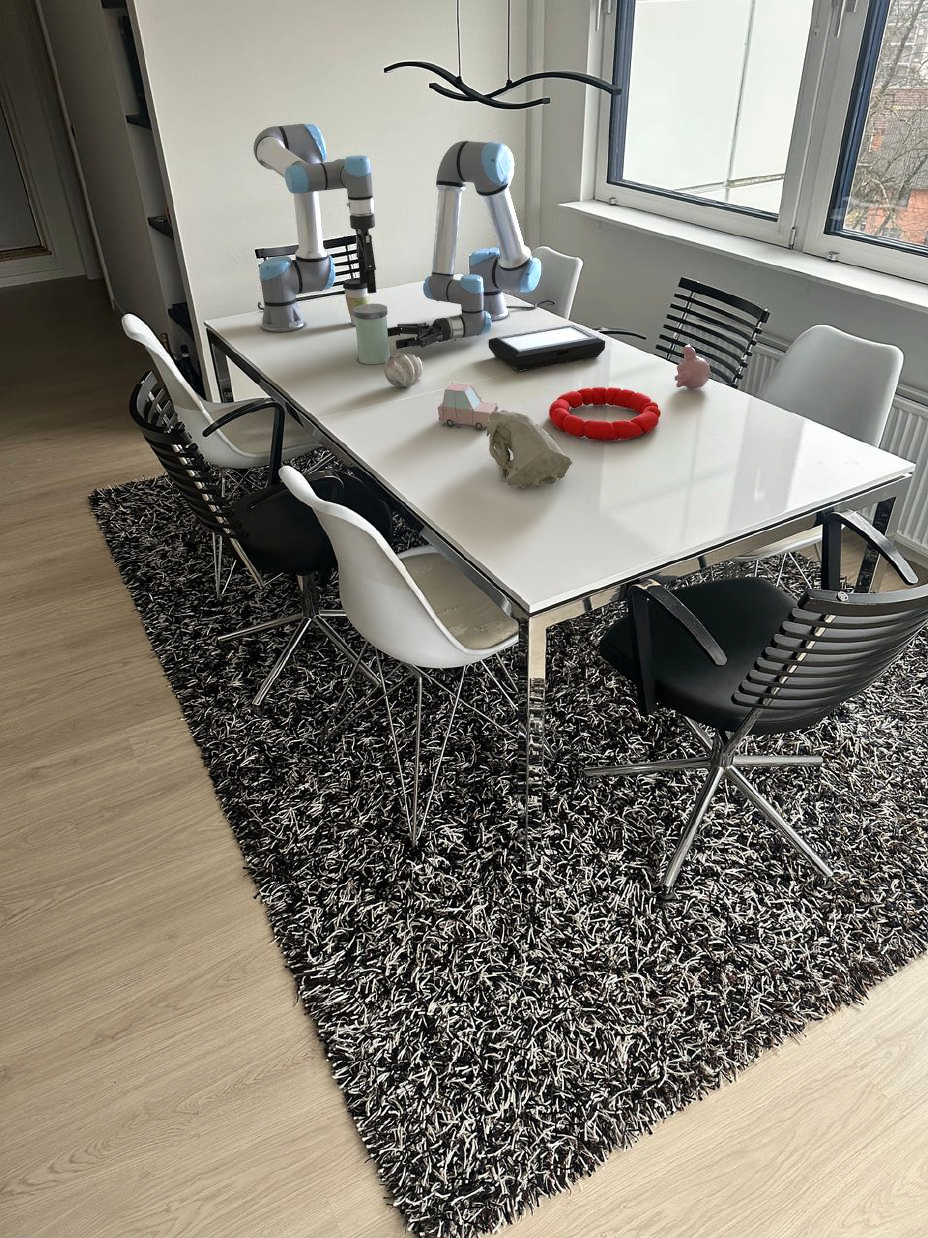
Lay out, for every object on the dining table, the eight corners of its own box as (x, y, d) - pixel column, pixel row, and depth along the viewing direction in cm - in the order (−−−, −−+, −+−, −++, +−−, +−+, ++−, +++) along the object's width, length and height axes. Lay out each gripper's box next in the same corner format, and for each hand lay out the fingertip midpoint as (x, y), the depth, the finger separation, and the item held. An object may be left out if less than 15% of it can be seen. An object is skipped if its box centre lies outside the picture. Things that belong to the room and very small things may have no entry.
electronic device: (516, 354, 273) (488, 336, 289) (516, 374, 277) (488, 355, 292) (605, 338, 284) (574, 322, 299) (604, 357, 287) (573, 341, 302)
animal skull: (496, 517, 219) (521, 479, 201) (463, 429, 225) (484, 384, 207) (557, 503, 225) (586, 465, 206) (523, 417, 231) (549, 373, 212)
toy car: (488, 432, 240) (488, 396, 234) (436, 426, 244) (434, 390, 239) (499, 419, 247) (499, 384, 241) (448, 413, 252) (447, 379, 246)
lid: (374, 307, 291) (374, 301, 290) (394, 314, 284) (394, 308, 283) (346, 314, 286) (346, 308, 285) (366, 321, 279) (365, 315, 278)
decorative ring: (589, 435, 224) (684, 402, 234) (527, 398, 247) (617, 369, 256) (589, 461, 229) (683, 427, 238) (529, 422, 251) (617, 393, 260)
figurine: (665, 387, 264) (669, 347, 257) (693, 380, 268) (698, 340, 261) (686, 396, 257) (690, 355, 250) (714, 388, 262) (720, 348, 255)
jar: (378, 352, 299) (373, 303, 290) (395, 359, 293) (392, 309, 284) (353, 359, 294) (348, 309, 285) (370, 366, 288) (366, 316, 278)
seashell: (376, 385, 272) (373, 353, 266) (419, 376, 278) (418, 344, 272) (390, 395, 265) (387, 362, 259) (434, 385, 270) (433, 353, 265)
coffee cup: (372, 326, 323) (368, 283, 314) (345, 327, 323) (340, 284, 315) (374, 318, 331) (371, 276, 322) (348, 319, 331) (344, 277, 323)
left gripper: (342, 207, 277) (349, 279, 289) (356, 221, 258) (363, 298, 270) (366, 205, 279) (372, 277, 291) (381, 219, 259) (387, 296, 272)
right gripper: (463, 350, 291) (403, 361, 284) (432, 330, 310) (375, 340, 302) (463, 327, 287) (402, 337, 279) (431, 308, 305) (373, 317, 298)
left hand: (368, 287), depth 280 cm, fingers open, 12 cm apart
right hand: (388, 339), depth 291 cm, fingers open, 13 cm apart
